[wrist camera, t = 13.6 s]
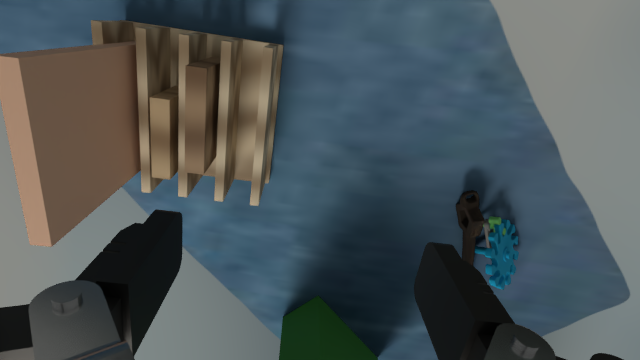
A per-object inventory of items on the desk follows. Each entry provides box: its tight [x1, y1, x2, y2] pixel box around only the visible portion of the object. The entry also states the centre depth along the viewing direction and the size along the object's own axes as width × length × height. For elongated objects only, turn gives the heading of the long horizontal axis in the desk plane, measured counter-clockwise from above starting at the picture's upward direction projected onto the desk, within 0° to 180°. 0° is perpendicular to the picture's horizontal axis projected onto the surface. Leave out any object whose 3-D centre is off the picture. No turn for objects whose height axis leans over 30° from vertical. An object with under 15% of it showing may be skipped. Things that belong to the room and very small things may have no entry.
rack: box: [91, 20, 284, 206], centre depth 44 cm, size 18×19×8 cm
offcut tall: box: [185, 57, 221, 175], centre depth 42 cm, size 11×2×10 cm, turn 172°
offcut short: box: [150, 85, 179, 179], centre depth 44 cm, size 9×2×8 cm, turn 172°
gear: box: [475, 216, 519, 290], centre depth 55 cm, size 11×6×10 cm
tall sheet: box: [0, 41, 141, 247], centre depth 36 cm, size 14×2×22 cm, turn 173°
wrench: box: [456, 190, 485, 266], centre depth 58 cm, size 5×5×30 cm
